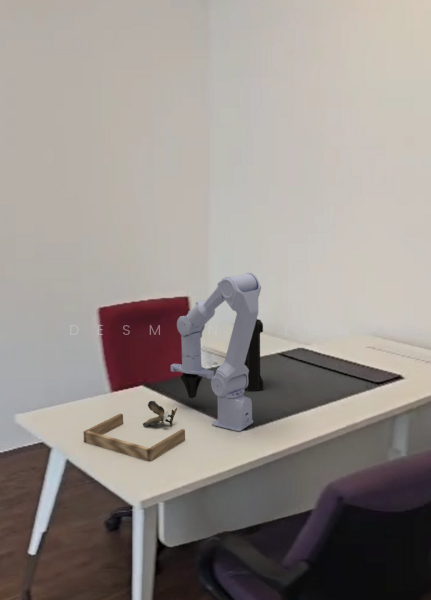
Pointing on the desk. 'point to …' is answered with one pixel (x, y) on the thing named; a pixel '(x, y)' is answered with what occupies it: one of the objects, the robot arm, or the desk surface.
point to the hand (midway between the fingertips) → (192, 396)
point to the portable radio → (254, 359)
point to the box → (149, 454)
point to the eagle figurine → (159, 411)
